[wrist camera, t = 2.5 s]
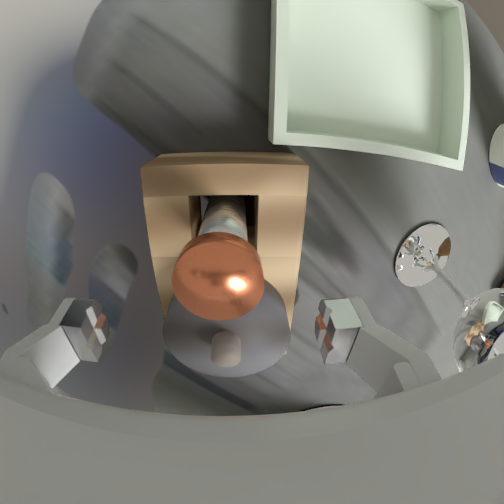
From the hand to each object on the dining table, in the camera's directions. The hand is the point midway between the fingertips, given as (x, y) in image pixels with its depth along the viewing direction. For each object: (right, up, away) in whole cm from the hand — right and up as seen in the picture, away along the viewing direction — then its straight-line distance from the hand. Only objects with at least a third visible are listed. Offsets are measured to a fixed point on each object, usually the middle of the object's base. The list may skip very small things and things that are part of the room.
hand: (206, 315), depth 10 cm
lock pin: (0, +6, +12) cm, 14 cm away
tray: (+11, +18, +6) cm, 22 cm away
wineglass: (+20, +2, +16) cm, 25 cm away
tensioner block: (0, +3, +14) cm, 14 cm away
